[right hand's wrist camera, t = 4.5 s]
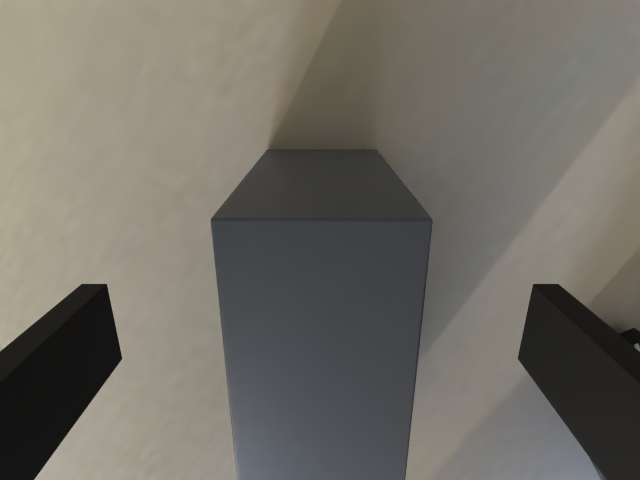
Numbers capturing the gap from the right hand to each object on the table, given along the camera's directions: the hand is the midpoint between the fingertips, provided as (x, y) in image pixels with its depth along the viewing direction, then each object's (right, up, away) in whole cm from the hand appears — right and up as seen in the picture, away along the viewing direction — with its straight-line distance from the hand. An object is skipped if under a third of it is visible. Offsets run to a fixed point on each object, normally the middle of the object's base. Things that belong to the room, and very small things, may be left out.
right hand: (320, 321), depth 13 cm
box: (0, -2, +14) cm, 14 cm away
